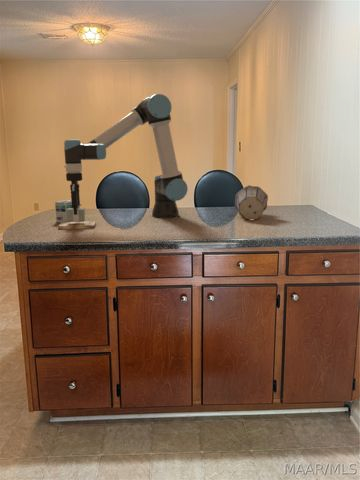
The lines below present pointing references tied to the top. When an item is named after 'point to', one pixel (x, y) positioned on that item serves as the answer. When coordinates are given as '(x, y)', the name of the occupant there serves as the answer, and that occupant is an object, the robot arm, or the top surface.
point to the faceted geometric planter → (251, 202)
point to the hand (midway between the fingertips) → (76, 219)
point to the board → (77, 225)
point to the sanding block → (81, 215)
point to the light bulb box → (62, 210)
